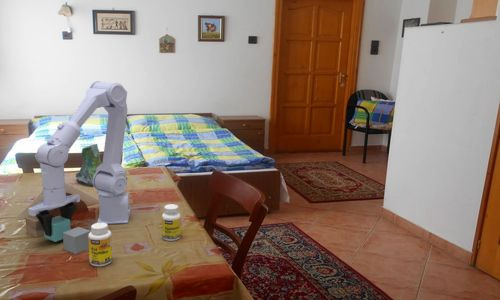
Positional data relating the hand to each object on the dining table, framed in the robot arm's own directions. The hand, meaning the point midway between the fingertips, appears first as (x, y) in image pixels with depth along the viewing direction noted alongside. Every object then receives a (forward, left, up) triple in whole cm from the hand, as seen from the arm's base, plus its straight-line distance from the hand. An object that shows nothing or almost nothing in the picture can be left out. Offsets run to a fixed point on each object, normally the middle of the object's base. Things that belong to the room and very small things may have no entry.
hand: (57, 231), depth 121 cm
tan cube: (+7, -6, -3) cm, 9 cm away
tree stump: (-3, -58, -3) cm, 58 cm away
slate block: (-6, +6, -3) cm, 9 cm away
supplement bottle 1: (-14, +15, -3) cm, 21 cm away
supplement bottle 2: (-32, +2, -3) cm, 32 cm away
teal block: (0, 0, -1) cm, 1 cm away
